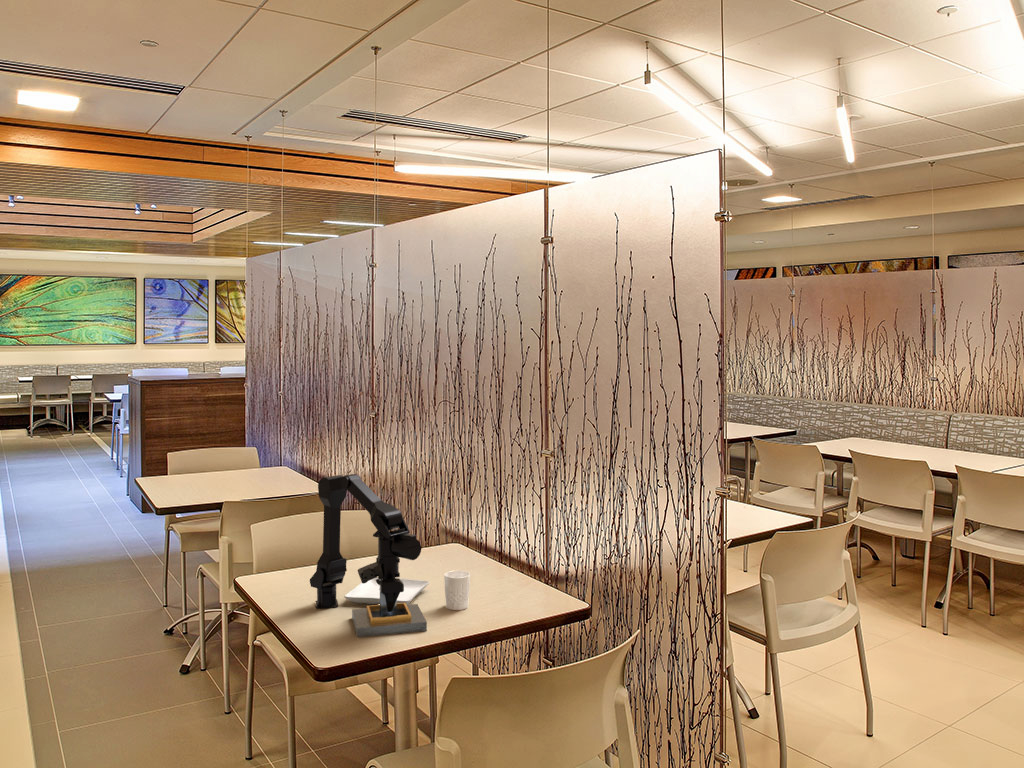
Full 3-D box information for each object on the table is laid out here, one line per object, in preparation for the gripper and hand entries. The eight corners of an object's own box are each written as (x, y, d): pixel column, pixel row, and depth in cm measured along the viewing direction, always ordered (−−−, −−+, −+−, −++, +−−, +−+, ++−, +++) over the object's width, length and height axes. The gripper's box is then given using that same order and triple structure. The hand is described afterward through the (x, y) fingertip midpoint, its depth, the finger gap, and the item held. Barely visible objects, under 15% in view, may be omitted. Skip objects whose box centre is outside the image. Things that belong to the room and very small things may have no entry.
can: (378, 613, 221) (378, 586, 220) (395, 612, 222) (395, 584, 222) (380, 619, 216) (380, 591, 216) (397, 617, 218) (398, 589, 217)
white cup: (470, 602, 239) (470, 570, 239) (469, 610, 231) (469, 577, 231) (444, 602, 239) (444, 570, 238) (443, 611, 231) (443, 577, 231)
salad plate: (408, 611, 232) (408, 600, 231) (342, 606, 236) (342, 595, 236) (430, 590, 252) (430, 579, 252) (369, 586, 257) (369, 575, 257)
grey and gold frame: (352, 618, 224) (352, 604, 224) (417, 612, 230) (417, 599, 229) (356, 637, 209) (356, 622, 209) (426, 630, 214) (426, 616, 214)
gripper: (356, 547, 225) (356, 600, 226) (362, 564, 207) (362, 622, 208) (394, 545, 228) (394, 597, 229) (404, 561, 210) (404, 618, 211)
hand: (388, 608), depth 219 cm, fingers closed on can, 5 cm apart
